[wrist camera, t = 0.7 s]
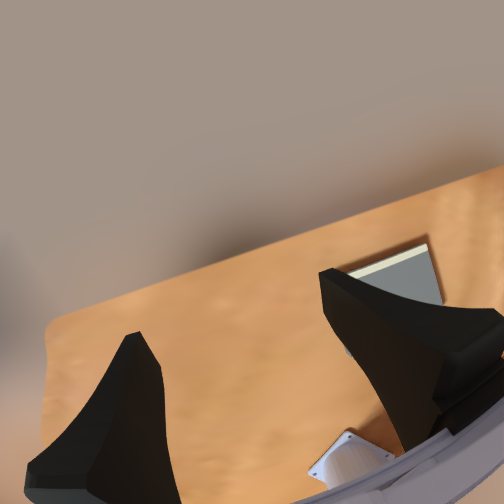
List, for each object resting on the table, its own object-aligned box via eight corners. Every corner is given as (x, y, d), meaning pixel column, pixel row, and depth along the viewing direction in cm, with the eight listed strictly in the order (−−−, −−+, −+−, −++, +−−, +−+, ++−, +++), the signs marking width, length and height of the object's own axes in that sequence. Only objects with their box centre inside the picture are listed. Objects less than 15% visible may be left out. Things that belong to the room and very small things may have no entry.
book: (418, 244, 35) (425, 242, 33) (437, 312, 35) (445, 313, 33) (324, 280, 36) (327, 280, 33) (346, 352, 35) (351, 356, 33)
